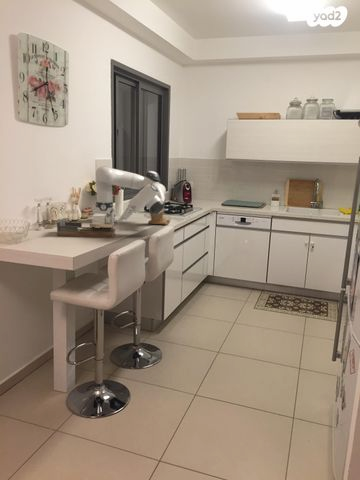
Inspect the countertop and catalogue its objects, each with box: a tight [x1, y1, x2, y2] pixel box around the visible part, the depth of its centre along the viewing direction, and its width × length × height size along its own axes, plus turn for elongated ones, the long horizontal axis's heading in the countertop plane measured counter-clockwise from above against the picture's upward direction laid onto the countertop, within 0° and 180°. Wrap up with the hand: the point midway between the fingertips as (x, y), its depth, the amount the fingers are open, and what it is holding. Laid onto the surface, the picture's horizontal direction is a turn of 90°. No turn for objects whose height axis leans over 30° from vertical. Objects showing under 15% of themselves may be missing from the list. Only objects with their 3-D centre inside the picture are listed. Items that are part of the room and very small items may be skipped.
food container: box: [99, 213, 116, 228], centre depth 265 cm, size 12×6×10 cm, turn 141°
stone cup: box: [147, 208, 171, 226], centre depth 291 cm, size 15×12×15 cm
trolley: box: [89, 208, 115, 230], centre depth 246 cm, size 10×13×12 cm
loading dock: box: [56, 218, 116, 239], centre depth 247 cm, size 15×32×8 cm, turn 93°
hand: (119, 221), depth 247 cm, fingers closed
